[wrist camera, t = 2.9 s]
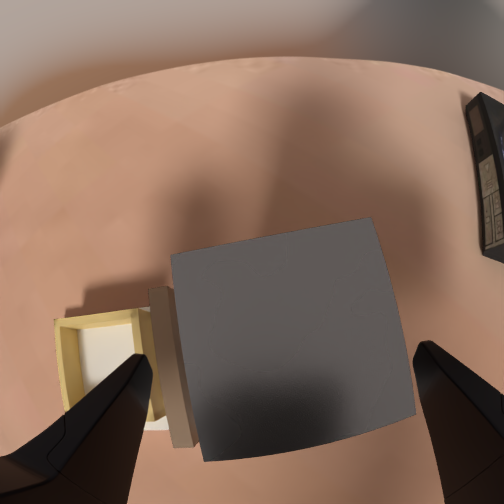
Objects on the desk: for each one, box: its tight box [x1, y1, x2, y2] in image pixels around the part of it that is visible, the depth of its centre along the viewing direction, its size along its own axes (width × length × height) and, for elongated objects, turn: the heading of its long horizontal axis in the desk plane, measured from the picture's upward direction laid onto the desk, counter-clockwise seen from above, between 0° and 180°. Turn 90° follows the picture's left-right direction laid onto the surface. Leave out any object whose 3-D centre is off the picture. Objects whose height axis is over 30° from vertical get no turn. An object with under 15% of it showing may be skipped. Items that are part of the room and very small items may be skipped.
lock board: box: [54, 286, 199, 448], centre depth 15 cm, size 20×8×5 cm, turn 100°
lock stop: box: [171, 217, 416, 462], centre depth 11 cm, size 4×4×12 cm
